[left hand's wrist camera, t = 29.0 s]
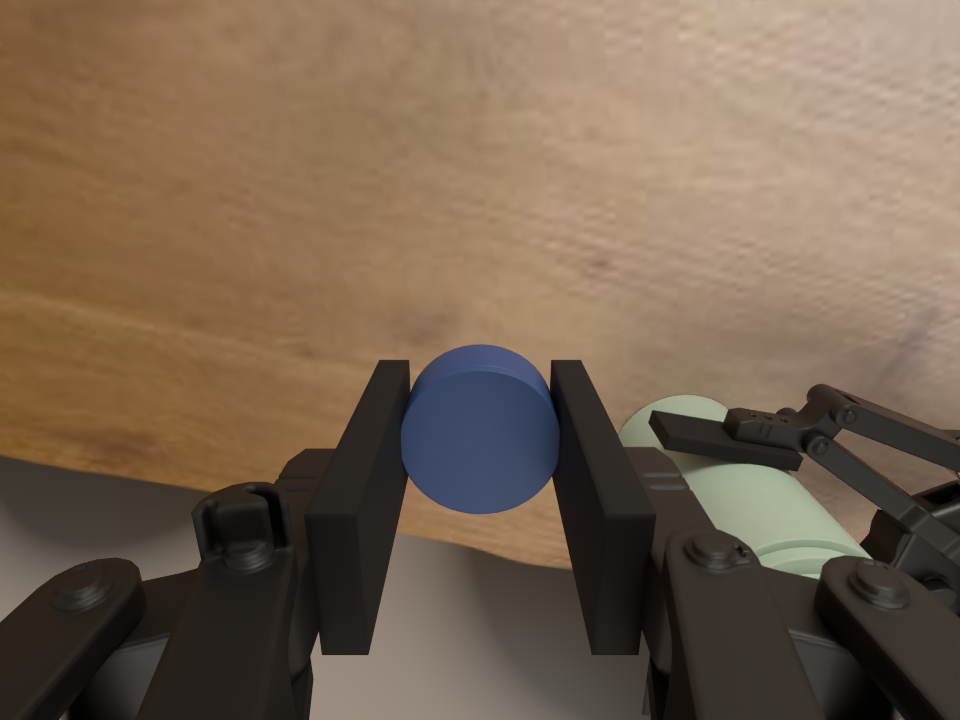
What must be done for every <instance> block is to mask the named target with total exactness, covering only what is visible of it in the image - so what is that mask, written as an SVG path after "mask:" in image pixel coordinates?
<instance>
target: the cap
mask: <svg viewBox="0 0 960 720" xmlns="http://www.w3.org/2000/svg"><path fill="white" fill-rule="evenodd" d="M559 437H560V425H559V421H558V418H557V415H556V411H555V408H554V404H553V401H552V398H551V394H550V391H549V388H548V386H547V384H546V381H545V380H544V378H543V377H542V375H541V374H540V372H539V371H538V370H537V369H536V368H535V367H534V366H533V365H532V364H531V363H530V362H529V361H528V360H526V359H525V358H523V357H522V356H520V355H519V354H517V353H515V352H513V351H510V350H508V349H505V348H502V347H497V346H493V345H469V346H463V347H459V348H456V349H453V350H451V351H448V352H446V353H444V354H442V355H441V356H439V357H437V358H436V359H435V360H433V361H432V362H431V363H429V364H428V365H427V367H426V368H425V369H424V370H423V371H422V372H421V374H420V375H419V376H418V378H417V379H416V381H415V383H414V385H413V388H412V390H411V393H410V396H409V400H408V403H407V407H406V410H405V413H404V417H403V420H402V424H401V449H402V462H403V465H404V467H405V470H406V472H407V473H408V475H409V477H410V479H411V480H412V481H413V483H414V484H415V485H416V486H417V487H418V488H419V489H420V490H421V491H422V492H423V493H424V494H425V495H426V496H428V497H429V498H430V499H432V500H433V501H435V502H437V503H438V504H440V505H442V506H445V507H447V508H449V509H452V510H456V511H459V512H464V513H472V514H490V513H497V512H501V511H505V510H509V509H511V508H514V507H517V506H519V505H520V504H522V503H524V502H526V501H528V500H529V499H531V498H532V497H533V496H535V495H536V494H537V493H538V492H539V491H540V490H541V489H542V488H543V487H544V486H545V485H546V484H547V483H548V481H549V480H550V478H551V477H552V475H553V473H554V471H555V469H556V467H557V465H558V456H559Z"/></svg>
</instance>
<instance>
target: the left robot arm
mask: <svg viewBox="0 0 960 720" xmlns="http://www.w3.org/2000/svg"><path fill="white" fill-rule="evenodd" d="M410 393H411V392H410V370H409V360H379V362H378V364H377V366H376V368H375V370H374V372H373V374H372V376H371V378H370V381H369V383H368V385H367V387H366V389H365V391H364V393H363V395H362V397H361V399H360V401H359V403H358V405H357V407H356V409H355V411H354V413H353V415H352V417H351V419H350V421H349V423H348V425H347V427H346V429H345V431H344V433H343V435H342V438H341V440H340V442H339V444H338V446H337V448H336V449H305V450H303V451H302V452H301V453H299V454H298V455H296V456H295V457H294V458H292V459H291V460H289V461H288V462H287V464H286V466H285V467H284V469H283V470H282V472H281V474H280V475H279V479H277V480H276V481H275V483H274V484H272V483H268V482H247V483H242V484H237V485H231V486H229V487H226V488H224V489H221V490H218V491H216V492H214V493H212V494H211V495H209V496H208V497H206V498H204V499H203V500H201V501H200V502H199V503H198V504H197V506H196V507H195V508H194V509H193V510H192V512H191V514H192V518H193V523H194V528H195V533H196V537H197V542H198V547H199V552H200V556H201V562H200V564H199V566H198V568H197V569H193V570H190V571H186V572H183V573H179V574H174V575H170V576H165V577H161V578H156V579H151V580H147V581H142V579H141V575H140V571H139V568H138V567H137V566H136V565H135V564H134V563H133V562H132V561H130V560H125V559H120V558H107V559H97V560H93V561H89V562H87V563H82V564H79V565H76V566H74V567H72V568H70V569H68V570H66V571H64V572H62V573H60V574H58V575H56V576H54V577H53V578H51V579H50V580H49V581H47V582H46V583H45V584H43V585H42V586H40V587H39V588H38V589H36V590H35V591H34V592H33V593H32V594H31V595H30V596H29V597H28V598H27V599H25V600H24V601H23V602H22V603H21V604H20V605H19V606H18V607H17V608H16V609H14V610H13V611H12V612H11V613H10V614H9V615H8V616H7V617H6V618H5V619H4V620H2V621H1V622H0V720H59V719H60V720H309V715H310V706H311V696H312V687H313V673H312V666H311V659H310V655H311V652H312V649H313V646H314V643H315V641H316V637H317V634H318V632H319V636H320V643H321V651H322V655H368V654H369V650H370V645H371V641H372V636H373V632H374V627H375V623H376V619H377V614H378V609H379V605H380V601H381V596H382V592H383V587H384V583H385V578H386V574H387V569H388V565H389V560H390V556H391V551H392V547H393V542H394V538H395V533H396V529H397V525H398V520H399V516H400V511H401V507H402V502H403V498H404V493H405V489H406V484H407V480H408V473H407V472H406V470H405V467H404V465H403V462H402V449H401V424H402V420H403V417H404V413H405V410H406V407H407V403H408V400H409V396H410ZM550 394H551V398H552V401H553V404H554V408H555V411H556V415H557V418H558V421H559V425H560V437H559V456H558V465H557V467H556V469H555V471H554V473H553V475H552V478H553V483H554V487H555V492H556V496H557V501H558V505H559V510H560V514H561V519H562V523H563V527H564V532H565V536H566V541H567V545H568V550H569V554H570V559H571V563H572V568H573V572H574V577H575V581H576V586H577V590H578V595H579V599H580V603H581V608H582V612H583V617H584V621H585V626H586V630H587V635H588V639H589V644H590V648H591V653H592V655H638V654H639V646H640V638H641V631H643V634H644V636H645V640H646V642H647V645H648V648H649V651H650V659H649V666H648V673H647V680H646V687H645V695H644V702H643V709H642V714H643V715H649V713H650V714H651V720H900V719H901V716H902V717H903V718H904V719H905V720H960V618H959V617H958V616H956V615H955V614H954V613H953V612H952V611H951V610H950V609H949V608H948V607H947V606H945V605H944V604H943V603H942V602H941V601H940V600H939V599H938V598H937V597H935V596H934V595H933V594H932V593H931V592H930V591H929V590H928V589H927V588H925V587H924V586H923V585H922V584H920V583H919V582H918V581H916V580H915V579H913V578H912V577H911V576H909V575H908V574H907V573H905V572H903V571H900V570H898V569H896V568H894V567H892V566H890V565H888V564H886V563H883V562H880V561H877V560H873V559H869V558H866V557H859V556H847V555H844V556H839V557H834V558H830V559H829V560H828V561H827V562H826V563H825V564H824V565H823V566H822V569H821V573H820V577H819V579H816V578H811V577H806V576H802V575H797V574H793V573H788V572H783V571H779V570H775V569H772V568H768V567H765V566H763V565H761V563H760V561H759V559H758V557H757V556H756V554H755V553H754V551H753V550H752V549H751V547H749V546H748V545H747V544H745V543H744V542H743V541H741V540H740V539H739V538H737V537H735V536H733V535H731V534H728V533H726V532H724V531H722V530H718V529H716V528H715V526H714V524H713V523H712V521H711V520H710V518H709V516H708V515H707V513H706V512H705V510H704V509H703V507H702V505H701V504H700V502H699V501H698V499H697V497H696V496H695V494H694V493H693V491H692V490H690V486H689V485H688V483H687V482H686V480H685V479H684V477H682V474H681V472H680V471H679V469H678V467H677V466H676V464H675V463H674V461H673V460H672V459H671V458H670V457H668V456H667V455H665V454H664V453H662V452H661V451H660V450H658V449H657V448H655V447H623V445H622V443H621V441H620V439H619V437H618V435H617V433H616V431H615V429H614V427H613V425H612V422H611V420H610V418H609V416H608V414H607V412H606V410H605V408H604V406H603V404H602V402H601V400H600V398H599V396H598V394H597V392H596V390H595V388H594V386H593V384H592V382H591V380H590V378H589V376H588V374H587V372H586V370H585V368H584V366H583V363H582V361H581V360H551V378H550Z"/></svg>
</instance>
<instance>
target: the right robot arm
mask: <svg viewBox="0 0 960 720" xmlns="http://www.w3.org/2000/svg"><path fill="white" fill-rule="evenodd" d="M807 401H808V403H807V404H806V405H805V406H804V407H803V408H802V409H801V410H800V411H799V412H798V413H797V412H796V411H795V410H794V409H792V408H783V409H780V410H779V411H778V412H777V413H776V414H773V413H767V412H761V411H755V410H750V409H744V408H735V409H729V410H728V411H727V414H726V417H725V419H724V422H721V421H715V420H709V419H703V418H697V417H692V416H686V415H680V414H674V413H668V412H662V411H656V410H652V412H651V415H650V419H649V422H648V424H649V425H650V427H651V429H652V430H653V432H654V433H655V435H656V437H657V438H658V440H659V441H660V443H661V445H662V446H663V448H664V450H670V451H676V452H682V453H688V454H694V455H700V456H706V457H712V458H718V459H724V460H730V461H736V462H742V463H749V464H755V465H761V466H767V467H773V468H779V469H785V470H791V471H798V469H799V467H800V464H801V462H802V460H803V457H802V456H801V455H800V454H799V453H798V452H800V453H806V454H807V455H808V456H809V457H810V458H812V459H813V460H814V461H816V462H817V463H819V464H820V465H821V466H823V467H824V468H825V469H827V470H828V471H830V472H831V473H832V474H834V475H835V476H837V477H838V478H839V479H841V480H842V481H844V482H845V483H846V484H848V485H849V486H851V487H852V488H853V489H855V490H856V491H857V492H859V493H860V494H862V495H863V496H864V497H866V498H867V499H869V500H870V501H871V502H873V503H874V504H876V505H877V506H878V507H880V508H881V509H883V510H879V509H878V510H877V512H876V513H875V515H874V517H873V519H872V522H871V527H870V532H869V534H868V535H867V536H866V538H865V539H864V540H863V541H862V542H861V543H860V544H859V545H860V546H861V547H862V548H863V549H864V550H865V551H866V552H867V554H868V555H869V556H870V557H871V558H872V559H873V560H877V561H880V562H883V563H886V564H888V565H890V566H892V567H894V568H896V569H898V570H900V571H903V572H905V573H907V574H908V575H909V576H911V577H912V578H913V579H915V580H916V581H918V582H919V583H920V584H922V585H923V586H924V587H925V588H927V589H928V590H929V591H930V592H931V593H932V594H933V595H934V596H935V597H937V598H938V599H939V600H940V601H941V602H942V603H943V604H944V605H945V606H947V607H948V608H949V609H950V610H951V611H952V612H953V613H954V614H955V615H956V616H958V617H959V618H960V430H940V429H937V428H935V427H932V426H930V425H927V424H925V423H922V422H920V421H917V420H915V419H912V418H909V417H907V416H904V415H902V414H899V413H897V412H894V411H892V410H889V409H887V408H884V407H881V406H879V405H876V404H874V403H871V402H869V401H866V400H864V399H861V398H859V397H856V396H854V395H851V394H848V393H846V392H843V391H841V390H838V389H836V388H833V387H831V386H828V385H825V384H818V385H815V386H813V387H812V388H811V389H810V390H809V391H808V394H807ZM842 428H844V429H846V430H849V431H852V432H854V433H857V434H859V435H862V436H865V437H867V438H870V439H872V440H875V441H878V442H880V443H883V444H885V445H888V446H891V447H893V448H896V449H899V450H901V451H904V452H906V453H909V454H912V455H914V456H917V457H919V458H922V459H925V460H927V461H930V462H932V463H935V464H938V465H940V466H943V467H945V469H946V470H948V471H949V472H950V473H952V474H953V475H955V476H956V477H958V479H959V480H955V481H951V482H948V483H945V484H942V485H940V486H937V487H934V488H931V489H928V490H926V491H923V492H920V493H917V494H915V495H912V496H910V495H909V494H907V493H906V492H905V491H903V490H902V489H901V488H899V487H898V486H897V485H895V484H894V483H893V482H891V481H890V480H888V479H887V478H886V477H884V476H883V475H881V474H880V473H878V472H877V471H876V470H874V469H873V468H872V467H870V466H869V465H867V464H866V463H865V462H863V461H862V460H861V459H859V458H858V457H857V456H855V455H854V454H853V453H851V452H850V451H849V450H847V449H846V448H844V447H843V446H842V445H840V444H839V443H838V442H836V441H835V440H834V439H833V438H834V437H835V436H836V435H837V434H838V432H839V431H840V430H841V429H842Z"/></svg>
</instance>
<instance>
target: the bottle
mask: <svg viewBox="0 0 960 720" xmlns="http://www.w3.org/2000/svg"><path fill="white" fill-rule="evenodd" d="M652 410H656V411H662V412H668V413H674V414H680V415H686V416H692V417H697V418H703V419H709V420H715V421H721V422H724V419H725V417H726V414H727V411H728V410H729V409H727V408H726V407H725V406H723V405H722V404H720V403H718V402H717V401H714V400H712V399H709V398H706V397H702V396H696V395H678V396H671V397H667V398H663V399H661V400H658V401H655V402H653V403H651V404H649V405H647V406H646V407H644V408H642V409H641V410H639V411H638V412H637V413H636V414H634V415H633V416H632V417H631V418H630V419H629V420H628V421H627V423H626V424H625V425H624V427H623V428H622V429H621V431H620V433H619V435H618V437H619V439H620V441H621V443H622V445H623V447H655V448H657V449H658V450H660V451H661V452H662V453H664V454H665V455H667V456H668V457H670V458H671V459H672V460H673V461H674V463H675V464H676V466H677V467H678V469H679V471H680V472H681V474H682V477H684V479H685V480H686V482H687V483H688V485H689V486H690V490H692V491H693V493H694V494H695V496H696V497H697V499H698V501H699V502H700V504H701V505H702V507H703V509H704V510H705V512H706V513H707V515H708V516H709V518H710V520H711V521H712V523H713V524H714V526H715V528H716V529H718V530H722V531H724V532H726V533H728V534H731V535H733V536H735V537H737V538H739V539H740V540H741V541H743V542H744V543H745V544H747V545H748V546H749V547H751V549H752V550H753V551H754V553H755V554H756V556H757V557H758V559H759V561H760V563H761V565H763V566H765V567H768V568H772V569H775V570H779V571H783V572H788V573H793V574H797V575H802V576H806V577H811V578H816V579H819V577H820V573H821V569H822V566H823V565H824V564H825V563H826V562H827V561H828V560H829V559H830V558H834V557H839V556H844V555H847V556H859V557H866V558H869V559H872V558H871V557H870V556H869V555H868V554H867V552H866V551H865V550H864V549H863V548H862V547H861V546H860V545H859V544H858V543H857V542H856V541H855V540H854V539H853V538H852V537H851V536H850V535H849V534H848V533H847V532H846V531H845V530H844V529H843V528H842V527H841V525H840V524H839V523H838V522H837V521H836V520H835V519H834V518H833V517H832V516H831V515H830V514H829V513H828V512H827V511H826V510H825V509H824V508H823V507H822V506H821V505H820V504H819V503H818V502H817V501H816V499H815V498H814V497H813V496H812V495H811V494H810V493H809V492H808V491H807V490H806V489H805V488H804V487H803V486H802V485H801V484H800V483H799V482H798V481H797V480H796V479H795V478H794V477H793V476H792V475H791V473H790V472H789V471H788V470H785V469H779V468H773V467H767V466H761V465H755V464H749V463H742V462H736V461H730V460H724V459H718V458H712V457H706V456H700V455H694V454H688V453H682V452H676V451H670V450H664V448H663V446H662V445H661V443H660V441H659V440H658V438H657V437H656V435H655V433H654V432H653V430H652V429H651V427H650V425H649V424H648V422H649V419H650V415H651V412H652ZM900 720H901V719H900Z"/></svg>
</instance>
